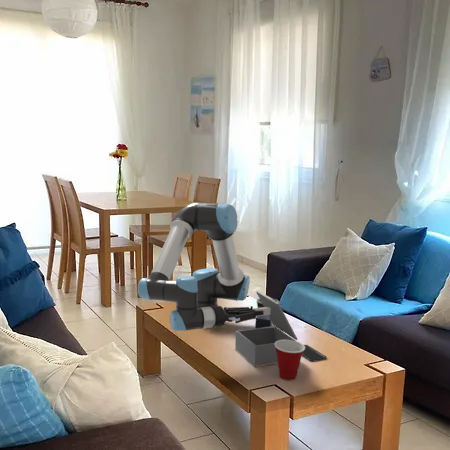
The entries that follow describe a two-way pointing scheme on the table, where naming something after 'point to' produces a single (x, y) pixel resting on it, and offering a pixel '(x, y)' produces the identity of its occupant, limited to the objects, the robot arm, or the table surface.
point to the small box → (263, 321)
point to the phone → (312, 354)
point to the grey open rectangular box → (259, 345)
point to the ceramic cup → (260, 305)
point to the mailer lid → (277, 315)
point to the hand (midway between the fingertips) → (269, 310)
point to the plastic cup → (288, 358)
